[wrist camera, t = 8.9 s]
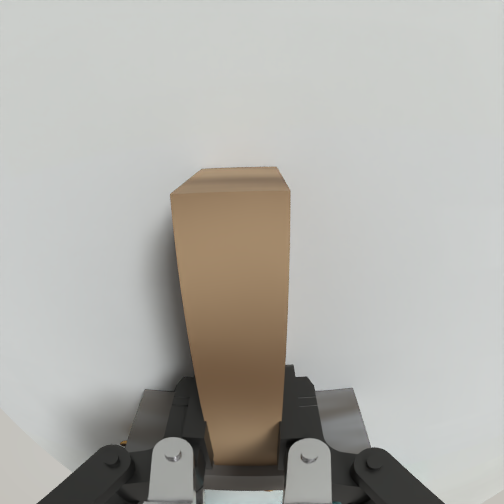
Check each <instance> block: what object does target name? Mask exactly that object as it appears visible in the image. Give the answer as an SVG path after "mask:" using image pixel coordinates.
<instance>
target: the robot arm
mask: <svg viewBox="0 0 504 504" xmlns="http://www.w3.org/2000/svg"><path fill="white" fill-rule="evenodd" d="M213 458H214V453H213V449H212V444H211V440H210V435H209V431H208V426H207V421H204V417H203V413H202V408H201V403H200V398H199V394H198V389H197V383H196V378H195V374H194V377H183V379H182V380H181V381H180V382H179V383H178V385H177V386H176V390H175V394H174V398H173V402H172V406H171V410H170V414H169V418H168V422H167V426H166V430H165V434H164V437H163V439H162V440H161V441H159V442H158V443H157V444H156V445H155V447H154V448H152V449H149V450H144V451H137V452H129V453H128V451H127V450H126V449H125V448H123V447H121V446H119V445H107V446H104V447H102V448H100V449H99V450H98V451H97V452H96V453H95V454H94V455H92V456H91V457H90V458H89V459H88V460H87V461H86V462H85V463H83V464H82V465H81V466H80V467H79V468H78V469H77V470H75V471H74V472H73V473H72V474H71V475H70V476H69V477H67V478H66V479H65V480H64V481H63V482H62V483H61V484H59V485H58V486H57V487H56V488H55V489H54V490H52V491H51V492H50V493H49V494H48V495H47V496H46V497H44V498H43V499H42V500H41V501H39V502H38V503H37V504H205V492H204V476H205V469H210V470H212V468H213ZM277 467H278V470H284V488H283V499H282V504H332V501H336V502H340V503H341V504H445V503H444V502H442V501H441V500H440V499H439V498H438V497H437V496H436V495H434V494H433V493H432V492H431V491H430V490H429V489H428V488H427V487H425V486H424V485H423V484H422V483H421V482H420V481H419V480H418V479H416V478H415V477H414V476H413V475H412V474H411V473H410V472H409V471H408V470H407V469H406V468H404V467H403V466H402V465H401V464H400V463H399V462H398V461H397V460H396V459H395V458H394V457H393V456H392V455H390V454H389V453H388V452H387V451H385V450H383V449H381V448H367V449H365V450H363V451H361V452H360V453H359V454H353V453H346V452H340V451H337V450H335V449H333V448H332V447H330V446H329V445H328V444H327V443H326V441H325V439H324V436H323V431H322V426H321V420H320V415H319V410H318V406H317V399H316V394H315V389H314V385H313V384H312V383H311V381H310V380H309V379H308V377H295V372H294V366H293V365H285V376H284V392H283V407H282V421H279V434H278V447H277Z"/></svg>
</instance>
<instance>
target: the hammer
mask: <svg viewBox="0 0 504 504" xmlns="http://www.w3.org/2000/svg"><path fill="white" fill-rule="evenodd" d="M170 199H171V210H172V220H173V230H174V239H175V248H176V257H177V265H178V272H179V280H180V287H181V295H182V301H183V308H184V315H185V321H186V327H187V334H188V340H189V345H190V351H191V357H192V362H193V368H194V373H195V378H196V383H197V389H198V394H199V398H200V403H201V408H202V413H203V417H204V421H207V426H208V431H209V435H210V440H211V444H212V449H213V453H214V458H213V468H212V470H210V469H205V476H204V489H211V490H233V491H268V490H283V488H284V470H278V467H277V447H278V434H279V421H282V407H283V392H284V376H285V358H286V338H287V315H288V288H289V252H290V189H289V187H288V186H287V184H286V182H285V180H284V179H283V177H282V175H281V174H280V172H279V170H278V168H277V167H237V168H211V169H201V170H200V171H198V172H197V173H196V174H195V175H193V176H192V177H191V178H190V179H188V180H187V181H186V182H185V183H183V184H182V185H181V186H180V187H178V188H177V189H176V190H175V191H173V192H172V193H171V194H170ZM174 394H175V392H169V391H157V390H146V389H145V391H144V394H143V397H142V399H141V402H140V405H139V408H138V411H137V414H136V417H135V420H134V423H133V425H132V428H131V431H130V434H129V437H128V440H127V443H126V446H125V449H126V450H127V451H128V453H129V452H137V451H144V450H149V449H152V448H154V447H155V445H156V444H157V443H158V442H159V441H161V440H162V439H163V437H164V434H165V430H166V426H167V422H168V418H169V414H170V410H171V406H172V402H173V398H174ZM315 394H316V399H317V406H318V410H319V415H320V420H321V426H322V431H323V436H324V439H325V441H326V443H327V444H328V445H329V446H330V447H332V448H333V449H335V450H337V451H340V452H346V453H353V454H359V453H360V452H361V451H363V450H365V449H367V448H371V445H370V442H369V439H368V435H367V432H366V429H365V425H364V422H363V419H362V415H361V412H360V409H359V406H358V403H357V399H356V396H355V393H354V390H353V388H348V389H339V390H328V391H316V392H315Z"/></svg>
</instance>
